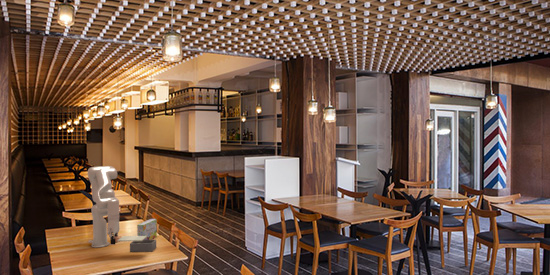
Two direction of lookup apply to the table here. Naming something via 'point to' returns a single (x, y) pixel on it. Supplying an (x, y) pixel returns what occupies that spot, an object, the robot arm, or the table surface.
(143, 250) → the tub
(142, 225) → the snack box
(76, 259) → the table surface
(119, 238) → the lid
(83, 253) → the table surface
